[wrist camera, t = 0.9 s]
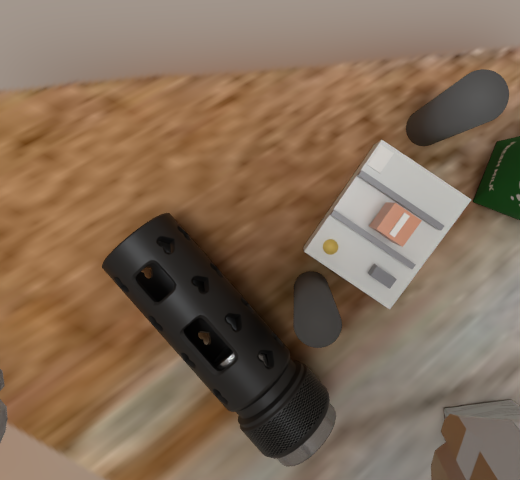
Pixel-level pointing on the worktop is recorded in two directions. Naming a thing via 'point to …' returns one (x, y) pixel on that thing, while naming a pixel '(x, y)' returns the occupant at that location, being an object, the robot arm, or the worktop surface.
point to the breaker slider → (395, 223)
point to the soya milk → (502, 179)
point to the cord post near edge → (459, 108)
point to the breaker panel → (370, 241)
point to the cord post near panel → (315, 311)
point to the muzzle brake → (223, 340)
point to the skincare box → (488, 410)
